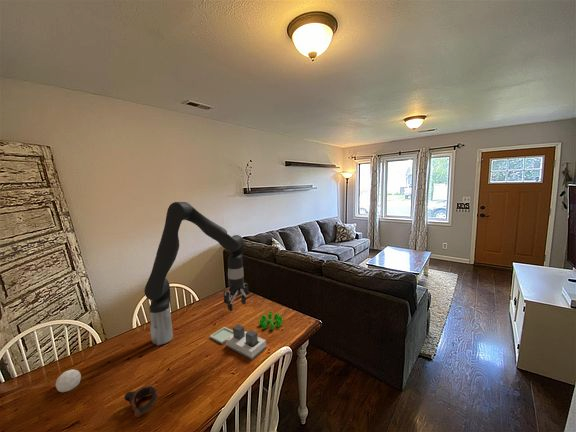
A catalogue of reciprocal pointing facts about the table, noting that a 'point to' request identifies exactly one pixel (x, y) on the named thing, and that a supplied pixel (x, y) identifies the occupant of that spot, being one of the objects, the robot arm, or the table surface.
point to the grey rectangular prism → (251, 338)
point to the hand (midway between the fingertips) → (237, 306)
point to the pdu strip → (244, 343)
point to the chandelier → (264, 320)
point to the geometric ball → (68, 380)
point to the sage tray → (221, 335)
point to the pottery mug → (139, 395)
